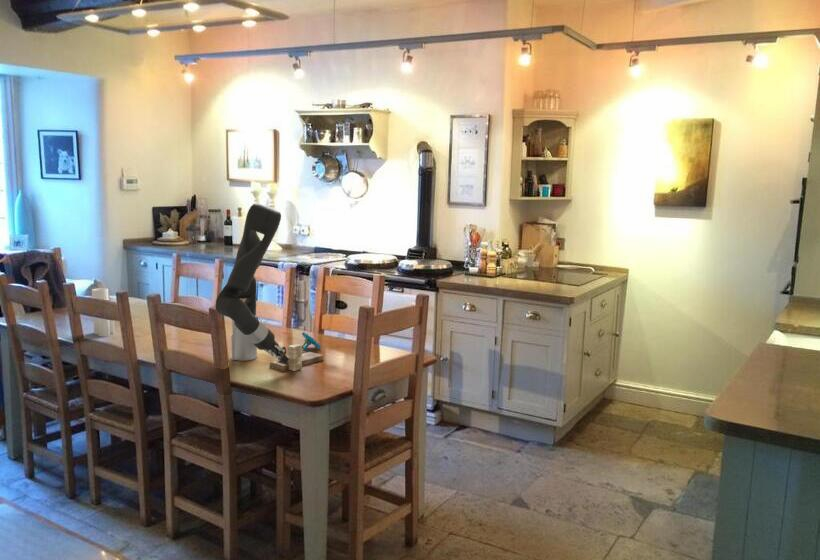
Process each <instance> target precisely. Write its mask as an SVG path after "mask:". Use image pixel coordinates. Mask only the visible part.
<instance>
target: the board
mask: <svg viewBox="0 0 820 560" xmlns="http://www.w3.org/2000/svg"><path fill="white" fill-rule="evenodd" d="M321 360H322V361H324V354H319V353H315V352H312V351H307V352H304V353H303V352H302V367H303V366H307V365H311V364H314V362H315V363H318V361H319V362H321ZM271 367H273V369H275V368H276V370H278V369H279V371H282V370H283V371H282V372H286V371H290V370H289V364H288V363H283V362H282V361H280V360H278V359H275V360H273V361H270V362H269V368H271Z"/></svg>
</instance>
